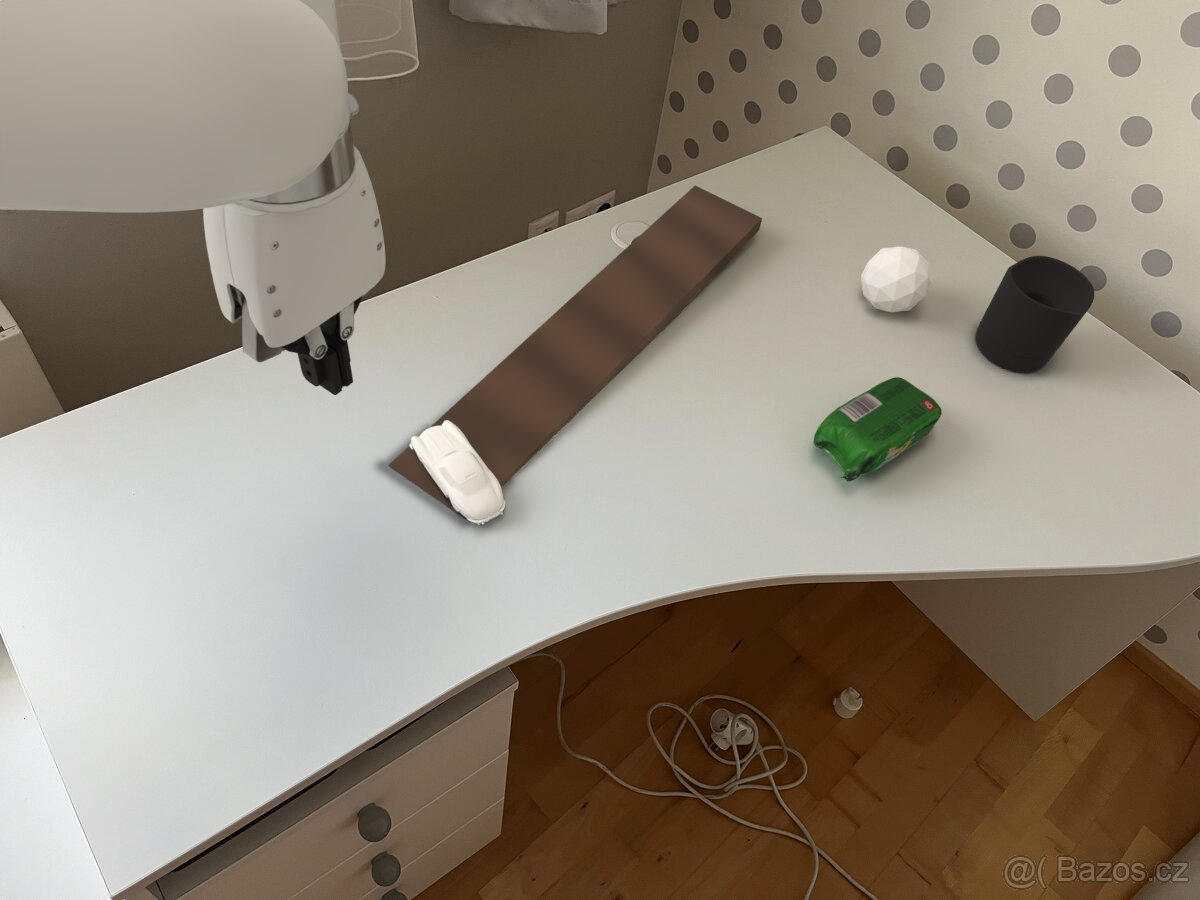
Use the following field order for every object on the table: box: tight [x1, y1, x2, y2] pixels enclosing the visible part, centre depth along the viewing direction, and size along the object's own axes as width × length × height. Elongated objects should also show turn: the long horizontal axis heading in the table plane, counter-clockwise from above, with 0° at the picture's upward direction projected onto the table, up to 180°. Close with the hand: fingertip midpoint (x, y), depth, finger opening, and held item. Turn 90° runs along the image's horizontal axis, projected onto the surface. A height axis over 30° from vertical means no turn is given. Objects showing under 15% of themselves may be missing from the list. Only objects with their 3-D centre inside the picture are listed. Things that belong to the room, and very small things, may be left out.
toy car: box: [409, 420, 506, 526], centre depth 84 cm, size 5×12×4 cm, turn 36°
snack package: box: [813, 376, 943, 482], centre depth 92 cm, size 7×16×5 cm, turn 127°
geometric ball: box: [860, 245, 932, 313], centre depth 106 cm, size 8×8×8 cm
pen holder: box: [975, 255, 1095, 373], centre depth 102 cm, size 9×9×10 cm
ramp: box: [387, 185, 763, 520], centre depth 99 cm, size 56×10×5 cm, turn 144°
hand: (329, 379), depth 63 cm, fingers closed
